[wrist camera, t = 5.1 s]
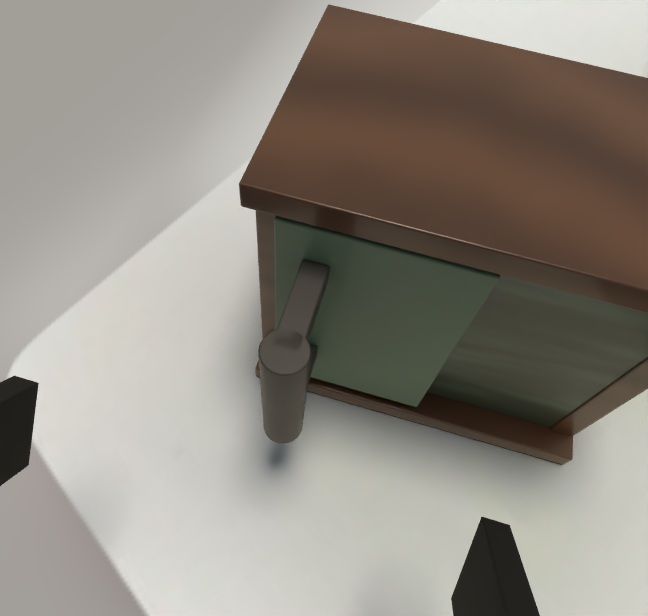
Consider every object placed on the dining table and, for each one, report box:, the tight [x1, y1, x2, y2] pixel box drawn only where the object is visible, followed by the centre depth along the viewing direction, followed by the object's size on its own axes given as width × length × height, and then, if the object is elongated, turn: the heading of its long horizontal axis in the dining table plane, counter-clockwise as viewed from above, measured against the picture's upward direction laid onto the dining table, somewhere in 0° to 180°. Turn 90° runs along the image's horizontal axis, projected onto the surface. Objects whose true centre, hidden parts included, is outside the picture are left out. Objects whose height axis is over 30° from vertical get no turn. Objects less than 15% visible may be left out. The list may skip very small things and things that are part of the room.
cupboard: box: [239, 5, 648, 464], centre depth 23 cm, size 10×16×14 cm, turn 75°
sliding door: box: [259, 216, 500, 443], centre depth 20 cm, size 5×7×11 cm
